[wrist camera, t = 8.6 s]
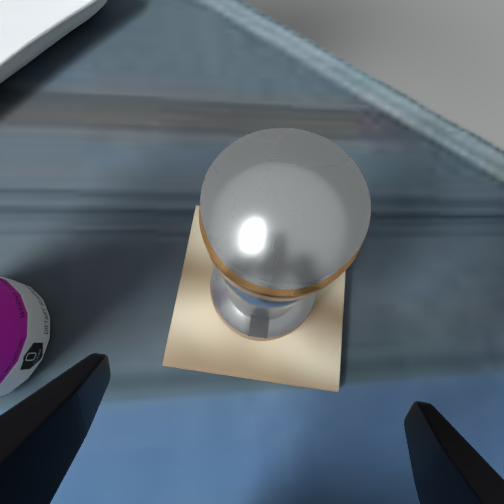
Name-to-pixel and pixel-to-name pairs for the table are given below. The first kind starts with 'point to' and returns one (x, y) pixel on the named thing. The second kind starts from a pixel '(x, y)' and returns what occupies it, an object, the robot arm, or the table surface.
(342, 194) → the grey tall flared piece
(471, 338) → the table surface
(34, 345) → the supplement can
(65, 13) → the salad plate
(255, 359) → the beige square tile
